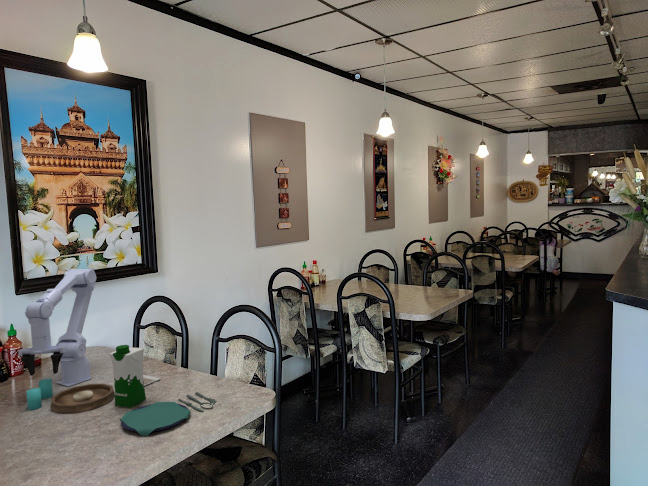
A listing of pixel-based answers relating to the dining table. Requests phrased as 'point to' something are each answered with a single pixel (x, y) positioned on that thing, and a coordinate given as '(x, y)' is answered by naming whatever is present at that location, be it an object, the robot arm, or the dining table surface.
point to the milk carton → (128, 376)
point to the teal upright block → (46, 388)
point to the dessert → (151, 378)
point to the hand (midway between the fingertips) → (44, 373)
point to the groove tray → (77, 407)
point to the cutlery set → (160, 415)
